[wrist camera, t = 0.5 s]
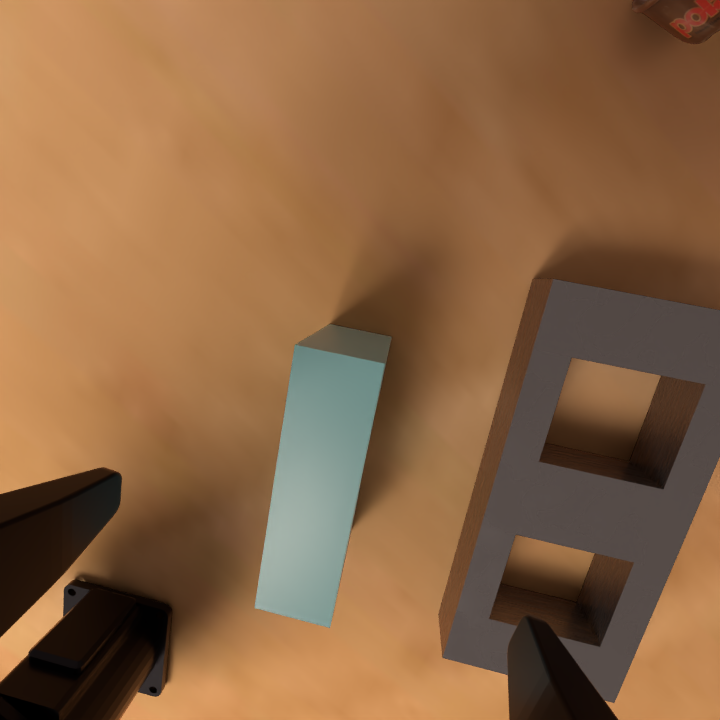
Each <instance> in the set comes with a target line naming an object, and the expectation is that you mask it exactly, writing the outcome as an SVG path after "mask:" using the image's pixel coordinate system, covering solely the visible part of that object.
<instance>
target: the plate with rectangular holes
mask: <svg viewBox="0 0 720 720" xmlns="http://www.w3.org/2000/svg"><path fill="white" fill-rule="evenodd" d="M571 358H577V359H582V360H587V361H592V362H597V363H602V364H607V365H612V366H617V367H622V368H627V369H632V370H637V371H642V372H647V373H652V374H657V375H662V376H661V378H660V381H659V384H658V386H657V389H656V392H655V394H654V397H653V400H652V402H651V405H650V408H649V411H648V413H647V416H646V419H645V421H644V424H643V427H642V429H641V432H640V435H639V437H638V440H637V443H636V445H635V448H634V451H633V453H632V456H631V459H630V461H625V460H620V459H616V458H611V457H607V456H602V455H598V454H593V453H588V452H584V451H579V450H575V449H570V448H566V447H561V446H556V445H552V444H547V443H545V440H546V437H547V434H548V431H549V428H550V424H551V421H552V418H553V415H554V412H555V409H556V405H557V402H558V399H559V396H560V393H561V390H562V387H563V383H564V380H565V377H566V374H567V371H568V368H569V364H570V361H571ZM719 457H720V310H716V309H710V308H705V307H700V306H694V305H689V304H684V303H678V302H673V301H668V300H663V299H657V298H652V297H647V296H641V295H636V294H631V293H625V292H620V291H615V290H609V289H604V288H599V287H594V286H588V285H583V284H578V283H572V282H567V281H562V280H556V279H533V280H532V283H531V287H530V290H529V294H528V298H527V301H526V305H525V308H524V312H523V315H522V319H521V322H520V326H519V330H518V333H517V337H516V340H515V344H514V347H513V351H512V354H511V358H510V362H509V365H508V369H507V372H506V376H505V379H504V383H503V386H502V390H501V394H500V397H499V401H498V404H497V408H496V411H495V415H494V418H493V422H492V426H491V429H490V433H489V436H488V440H487V443H486V447H485V450H484V454H483V458H482V461H481V465H480V468H479V472H478V475H477V479H476V482H475V486H474V490H473V493H472V497H471V500H470V504H469V507H468V511H467V514H466V518H465V522H464V525H463V529H462V532H461V536H460V539H459V543H458V546H457V550H456V554H455V557H454V561H453V564H452V568H451V571H450V575H449V578H448V582H447V586H446V589H445V593H444V596H443V600H442V603H441V607H440V610H439V614H438V615H439V626H440V636H441V647H442V657H443V658H445V659H449V660H453V661H457V662H461V663H464V664H468V665H472V666H476V667H480V668H483V669H487V670H491V671H495V672H499V673H502V674H506V675H508V665H507V650H508V645H509V642H510V639H511V637H512V635H513V633H514V631H515V629H516V627H517V625H518V623H519V621H520V619H521V618H522V616H524V615H531V616H534V617H536V618H539V619H542V620H544V621H546V622H547V623H548V624H549V625H550V627H551V628H552V629H553V631H554V632H555V634H556V635H557V636H558V638H559V639H560V640H561V642H562V643H563V644H564V646H565V647H566V649H567V650H568V651H569V653H570V654H571V655H572V657H573V658H574V660H575V661H576V662H577V664H578V665H579V666H580V668H581V669H582V671H583V672H584V673H585V675H586V676H587V677H588V679H589V680H590V681H591V683H592V684H593V686H594V687H595V688H596V690H597V691H598V692H599V694H600V695H601V697H602V698H603V699H604V700H605V701H609V702H613V703H614V702H615V700H616V698H617V695H618V693H619V691H620V688H621V686H622V684H623V681H624V679H625V677H626V674H627V672H628V670H629V667H630V665H631V663H632V660H633V658H634V656H635V653H636V651H637V649H638V646H639V644H640V642H641V639H642V637H643V635H644V632H645V630H646V628H647V625H648V623H649V621H650V618H651V616H652V614H653V611H654V609H655V607H656V604H657V602H658V600H659V597H660V595H661V593H662V590H663V588H664V586H665V583H666V581H667V579H668V576H669V574H670V572H671V569H672V567H673V565H674V562H675V560H676V558H677V555H678V553H679V551H680V548H681V546H682V544H683V541H684V539H685V537H686V534H687V532H688V530H689V527H690V525H691V523H692V520H693V518H694V516H695V513H696V511H697V509H698V506H699V504H700V502H701V499H702V497H703V495H704V492H705V490H706V488H707V485H708V483H709V481H710V478H711V476H712V474H713V471H714V469H715V467H716V464H717V462H718V460H719ZM515 535H520V536H524V537H528V538H533V539H537V540H541V541H545V542H549V543H554V544H558V545H562V546H566V547H571V548H575V549H579V550H583V551H587V552H592V553H595V555H594V558H593V560H592V563H591V566H590V568H589V571H588V574H587V577H586V579H585V582H584V585H583V587H582V590H581V593H580V595H579V598H578V601H577V602H573V601H569V600H565V599H560V598H556V597H552V596H548V595H544V594H540V593H536V592H532V591H528V590H524V589H520V588H516V587H512V586H508V585H504V584H500V582H501V579H502V576H503V573H504V570H505V566H506V563H507V560H508V557H509V554H510V551H511V547H512V544H513V541H514V538H515Z"/></svg>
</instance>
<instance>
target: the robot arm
mask: <svg viewBox="0 0 720 720" xmlns="http://www.w3.org/2000/svg"><path fill="white" fill-rule="evenodd" d="M121 484H122V476H121V474H120V473H119V472H117V471H114V470H111V469H108V468H104V467H103V468H97V469H94V470H90V471H86V472H82V473H78V474H75V475H71V476H67V477H63V478H60V479H56V480H52V481H48V482H44V483H41V484H37V485H33V486H29V487H26V488H22V489H18V490H14V491H10V492H7V493H3V494H0V637H1V636H2V635H3V634H4V633H5V632H6V631H7V630H8V629H9V628H10V627H11V626H12V625H13V624H14V623H15V622H16V621H17V620H18V619H19V618H20V617H21V616H22V615H23V614H24V613H25V612H27V611H28V610H29V609H30V608H31V607H32V606H33V605H34V604H35V603H36V602H37V601H38V600H39V599H40V598H41V597H42V596H43V595H44V594H45V593H46V592H47V591H48V590H49V589H50V588H51V587H52V586H53V585H54V583H55V582H56V581H57V580H58V579H59V578H60V577H61V576H62V575H63V574H64V573H65V572H66V571H67V570H68V569H69V567H70V566H71V565H72V564H73V563H74V562H75V560H76V559H77V558H78V557H79V556H80V555H81V553H82V552H83V551H84V550H85V549H86V547H87V546H88V545H89V544H90V543H91V542H92V540H93V539H94V538H95V537H96V536H97V534H98V533H99V532H100V531H101V530H102V529H103V527H104V526H105V525H106V524H107V523H108V521H109V520H110V519H111V518H112V517H113V516H114V514H115V513H116V511H117V510H118V508H119V505H120V500H121ZM171 619H172V609H171V607H170V606H169V605H167V604H165V603H161V602H158V601H154V600H150V599H146V598H143V597H139V596H135V595H131V594H128V593H124V592H120V591H116V590H113V589H109V588H105V587H101V586H98V585H94V584H90V583H86V582H83V581H79V580H73V581H71V582H70V583H69V584H68V585H67V586H66V587H65V588H64V609H63V618H62V619H61V620H60V621H59V622H58V623H57V624H56V625H55V626H54V627H53V628H52V629H51V630H50V631H49V632H48V633H47V634H46V635H45V636H44V637H43V638H42V639H41V640H40V641H38V642H37V643H36V644H35V645H34V646H33V647H32V648H31V650H30V651H29V654H28V655H27V656H26V657H25V658H24V659H23V660H22V661H21V662H20V663H19V664H18V665H17V666H16V667H15V668H14V669H13V670H12V671H11V672H10V673H9V674H8V675H7V676H6V677H5V678H4V679H3V680H2V681H1V682H0V720H120V719H121V717H122V715H123V714H124V712H125V711H126V709H127V708H128V706H129V705H130V703H131V702H132V700H133V699H134V697H135V695H136V694H137V692H140V693H143V694H147V695H150V696H155V697H156V696H159V695H160V694H161V692H162V691H163V689H164V687H165V680H166V670H167V660H168V650H169V639H170V629H171ZM507 665H508V693H509V720H618V718H617V717H616V716H615V714H614V713H613V712H612V710H611V709H610V708H609V706H608V705H607V703H606V702H605V701H604V699H603V698H602V697H601V695H600V694H599V692H598V691H597V690H596V688H595V687H594V686H593V684H592V683H591V681H590V680H589V679H588V677H587V676H586V675H585V673H584V672H583V671H582V669H581V668H580V666H579V665H578V664H577V662H576V661H575V660H574V658H573V657H572V655H571V654H570V653H569V651H568V650H567V649H566V647H565V646H564V644H563V643H562V642H561V640H560V639H559V638H558V636H557V635H556V634H555V632H554V631H553V629H552V628H551V627H550V625H549V624H548V623H547V622H546V621H544V620H542V619H539V618H536V617H534V616H531V615H524V616H522V618H521V619H520V621H519V623H518V625H517V627H516V629H515V631H514V633H513V635H512V637H511V639H510V642H509V645H508V650H507Z"/></svg>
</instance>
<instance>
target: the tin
mask: <svg viewBox="0 0 720 720" xmlns="http://www.w3.org/2000/svg"><path fill="white" fill-rule="evenodd" d="M632 9H633V11H634V12H636V13H640V12H642V13H643V14H645V15H646V16H648V17H649V18H650V19H652V20H653V21H654V22H656V23H657V24H658V25H660V26H661V27H663V28H664V29H665V30H667V31H668V32H669V33H671V34H672V35H673V36H675V37H677V38H678V39H680V40H681V41H684V42H686V43H690V44H699V43H702V42H704V41H706V40H707V39H708V38H710V37H711V36H712V35H713V34H714V33H716V32H718V31H719V30H720V0H633V2H632Z"/></svg>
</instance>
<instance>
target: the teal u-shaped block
mask: <svg viewBox="0 0 720 720" xmlns="http://www.w3.org/2000/svg"><path fill="white" fill-rule="evenodd" d="M391 339H392V337H391V336H386V335H381V334H376V333H371V332H367V331H362V330H357V329H352V328H347V327H342V326H337V325H332V324H329V325H327V326H326V327H324V328H322V329H321V330H319V331H317V332H316V333H314V334H312V335H310V336H309V337H307V338H305V339H304V340H302V341H300V342H299V343H297V344H295V348H294V354H293V361H292V367H291V374H290V380H289V387H288V393H287V400H286V406H285V413H284V419H283V426H282V432H281V439H280V445H279V452H278V458H277V465H276V471H275V478H274V484H273V491H272V497H271V504H270V510H269V517H268V523H267V530H266V536H265V543H264V549H263V556H262V562H261V569H260V575H259V582H258V588H257V595H256V601H255V608H256V609H260V610H264V611H268V612H272V613H275V614H279V615H283V616H287V617H291V618H294V619H298V620H302V621H306V622H310V623H313V624H317V625H321V626H325V627H329V628H330V626H331V621H332V616H333V612H334V607H335V603H336V598H337V594H338V589H339V584H340V580H341V575H342V571H343V566H344V562H345V557H346V553H347V548H348V543H349V539H350V534H351V530H352V525H353V520H354V515H355V511H356V506H357V501H358V496H359V491H360V484H361V479H362V475H363V470H364V465H365V460H366V455H367V451H368V446H369V441H370V436H371V432H372V427H373V422H374V417H375V412H376V408H377V404H378V399H379V395H380V391H381V386H382V382H383V377H384V372H385V367H386V362H387V358H388V353H389V348H390V343H391Z"/></svg>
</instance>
